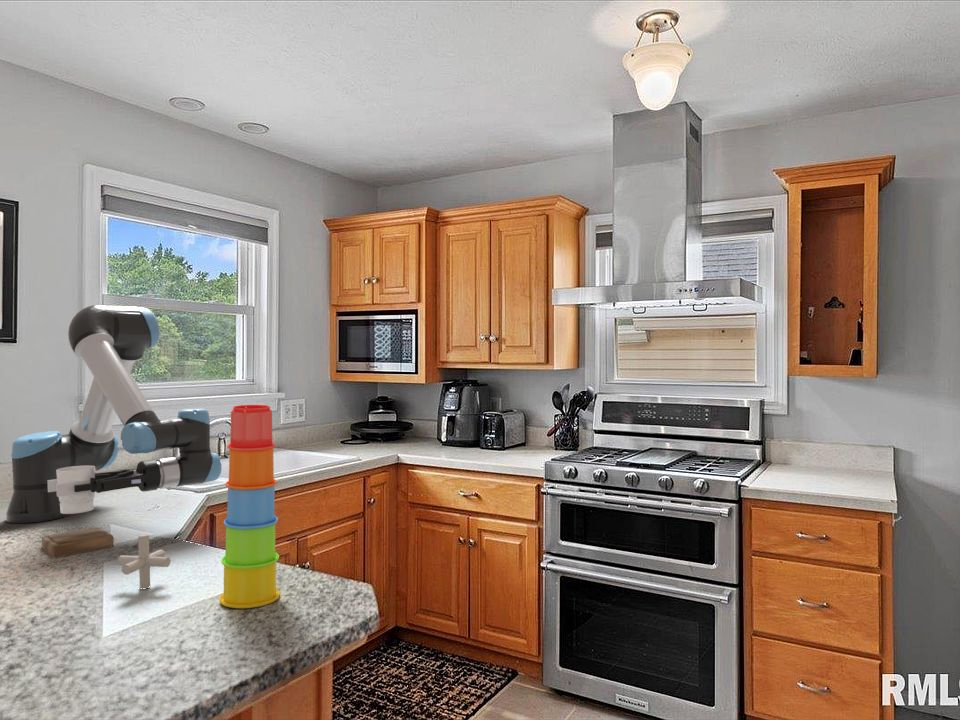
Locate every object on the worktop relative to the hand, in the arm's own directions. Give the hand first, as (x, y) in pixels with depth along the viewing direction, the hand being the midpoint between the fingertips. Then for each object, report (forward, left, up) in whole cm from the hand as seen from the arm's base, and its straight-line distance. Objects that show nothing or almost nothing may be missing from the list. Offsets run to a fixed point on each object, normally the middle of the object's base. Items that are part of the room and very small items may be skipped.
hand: (52, 488), depth 160 cm
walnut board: (0, +5, -14) cm, 15 cm away
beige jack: (+43, +6, -15) cm, 46 cm away
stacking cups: (+64, +17, -15) cm, 68 cm away
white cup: (0, +5, -6) cm, 8 cm away
